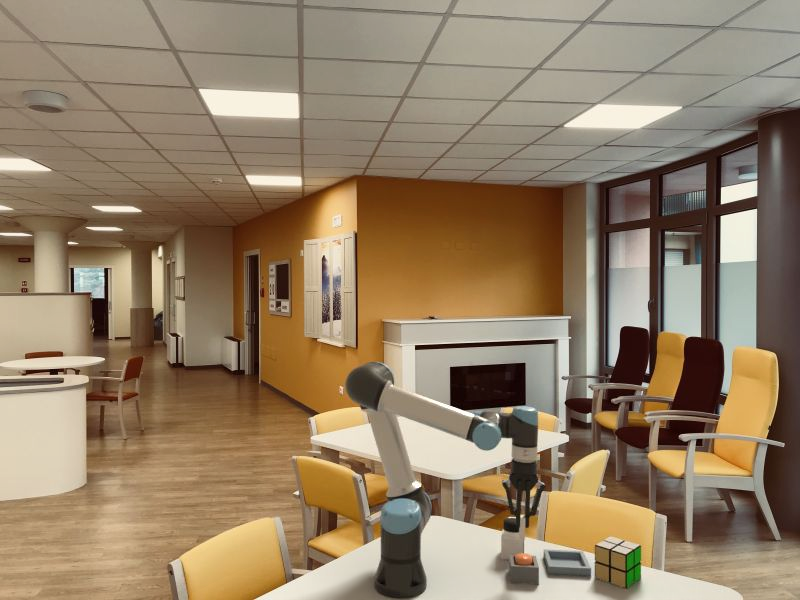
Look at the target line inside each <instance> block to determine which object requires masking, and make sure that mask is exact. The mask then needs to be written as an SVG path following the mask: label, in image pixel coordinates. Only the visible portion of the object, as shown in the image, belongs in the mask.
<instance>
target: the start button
mask: <svg viewBox="0 0 800 600" xmlns="http://www.w3.org/2000/svg"><path fill="white" fill-rule="evenodd" d="M532 556H533V555H530V554H528V553H525V552H524V553H520V554H516V555H515V565H529V566H532Z"/></svg>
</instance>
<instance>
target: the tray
mask: <svg viewBox="0 0 800 600" xmlns="http://www.w3.org/2000/svg"><path fill="white" fill-rule="evenodd" d="M543 560H544V563H545V567H546V569H547V573H548V575H549V576H564V577H565V576H566V577H567V576H569V577H570V576H571V577H587V578H588V577H589V576H590V578H591V577H592V567H591V564H590V563H589V561H588V559H587V557H586V554H585V553H584V551H583V550H569V549H568V550H565V549H543Z"/></svg>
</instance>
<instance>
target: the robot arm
mask: <svg viewBox="0 0 800 600" xmlns="http://www.w3.org/2000/svg"><path fill="white" fill-rule="evenodd" d="M344 388H345V392H346V394H347V396H348V397H349V398H350V401H352V402H354V403H355V404H357V405H359V407H360V410H361V411H362V412H364V413H366V414H367V417H368V420H369V423H370V428H371V430H372V434H373V437H374V441H375V445H376V448H377V450H378V455H379V458H380V461H381V466H382V469H383V471H384V475H385V478H386V482H387V485H388V489H387V491H386V493H385V496H386V499H387V501H386V503H384V505H383V506H382V507H381V509H380V516H379V521H380V560H379V563H378V566H377V569H376V572H375V576H374V589H375V590H376V592H378V593H379V594H381V595H383V596H386V597H389V598H395V599H396V598H397V599H406V598H411V597H416V596H418V595H420V594H423V593H424V592H425V591H426V589H427V585H428V584H427V582H428V580H427V579H428V578H427V574H426V572H425V569H424V565H423V562H422V559H421V558H422V557H421V556H422V555H421V554H422V552H421V551H422V550H421V548H422V547H421V546H422V545H421V543H422V542H421V540H422V533H423V531H424V529H425V528H426V526H427V524H428V523H429V521H430V519H431V514H432V507H433V506H432V502H431V499H430V497H429V495H428V494H427V493H426V492H425V491H424V487H423V484H422V482H421V481H419V480H417V479H416V478H415V474H414V471H413V467H412V465H411V461H410V457H409V454H408V450H407V446H406V444H405V439H404V436H403V433H402V430H401V426H400V423H399V419H398V416H399V417H403V418H405V419H407V420H410V421H413V422H416V423H418V424H421V425H424V426H426V427H429V428H433V429H435V430H439V431H440V432H443V433H446V434H449V435H452V436H455V437H457V438H459V439H463V440H465V441H468V442H470V443H473V444H474V445H475V447H477V448H478V449H479V450H481V451H484V452H485V451H489V452H490V451H491V450H494V449H495V448H496V447H497V446H498V445H499V444H500V442H501V440H502V439H511V458H512V459H511V461H510V463H511V464H510V474H509V476H508V478H507V479H502V481H501V485H502V487H503V488H504V490H505V492H506V497H507V498H506V499H507V503H508V508H509V512H510V514H511V516H512V515H513V516H515V517H516V527H519V538H520V540H524V541H525V540H526V529H529V527H530V518H531V517H535V516H536V515H537V511H538V508H539V503H540V500H541V497H542V493H543V491H544V490H545V489H546V488H547V487H546V484H545V483H544V482H543V481H540V480H539V477H538V474H537V473H538V462H537V459H538V440H539V439H538V438H539V436H538V435H539V411H538V410H537V409H536V408H534V407H532V406H527V405H526V406H525V405H522V406H520V405H519V406H514V407H513V408H512V412H500V411H498V412H497V411H487V410H480V411H479V410H476V411H475V410H474V412H473V413H471V412H468V411H466V410H462V409H460V408H457V407H454V406H452V405H449V404H446V403H443V402H440V401H439V400H438V401H437V400H435V399H432V398H429V397H426V396H425V395H421V394H418V393H415V392H413V391H410V390H407V389H404V388H402V387H398V386H396V385H395V377H394V373H393V371H392V369H391V368H390V366H388V365H386V364H385V363H383V362H379V361H371V362H367V363H364V364H363V365H359V366H357V367H354V368H353V369H352V370H351V371H350V372H349V373H348V375H347V377H346V380H345V383H344ZM397 415H398V416H397ZM511 484H512V485H513V487H514V489H515V490H516V493H515V494H516V495H515V497H516V498H515V508H514V503H513V499H512V495H511V489H510V487H511ZM535 486H536V491H535V494H534V497H533V500H532V505H530V504H531V491H532V490H533V489H534V488H535ZM522 491H523V492H524V514H521V513H522V511H521V510H522ZM530 506H531V507H530ZM530 508H531V509H530Z"/></svg>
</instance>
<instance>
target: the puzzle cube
mask: <svg viewBox="0 0 800 600" xmlns="http://www.w3.org/2000/svg"><path fill="white" fill-rule="evenodd" d="M641 561H642V545H641V544H638V543H634V542H632V541H627V540H624V539H622V538H619V537H614V536H609V537H606V538H605V539H603V540H601V541H600V542H598V543H596V544H595V545H594V578H595V579H597V578H598V580H600V579H601V581H603V580H604V581H603V582H606V581H607V582H606V583H608V582H610V584H611V583H612V585H614V584H615V586H617V587H620V586H621V587H620V588H622V587H623V588H622V589H625V588H626V589H628V588H629V587H630V586H632V585H633V584H634V583H636V582H638V581H639V580H640V579H641V578H642V562H641Z"/></svg>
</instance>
